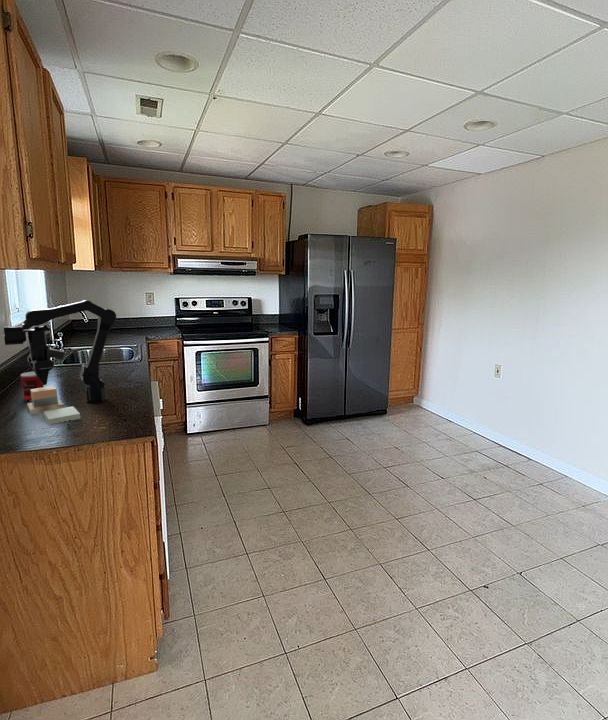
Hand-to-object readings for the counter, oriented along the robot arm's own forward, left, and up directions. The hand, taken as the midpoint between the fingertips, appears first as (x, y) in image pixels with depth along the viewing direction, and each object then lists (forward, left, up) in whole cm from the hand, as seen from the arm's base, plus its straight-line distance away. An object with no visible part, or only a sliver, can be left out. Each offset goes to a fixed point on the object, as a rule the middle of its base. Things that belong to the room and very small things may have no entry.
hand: (42, 382), depth 163 cm
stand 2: (-13, +9, -11) cm, 19 cm away
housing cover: (0, 0, -6) cm, 6 cm away
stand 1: (0, 0, -11) cm, 11 cm away
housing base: (0, 0, -9) cm, 9 cm away
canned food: (+14, -12, -11) cm, 21 cm away
